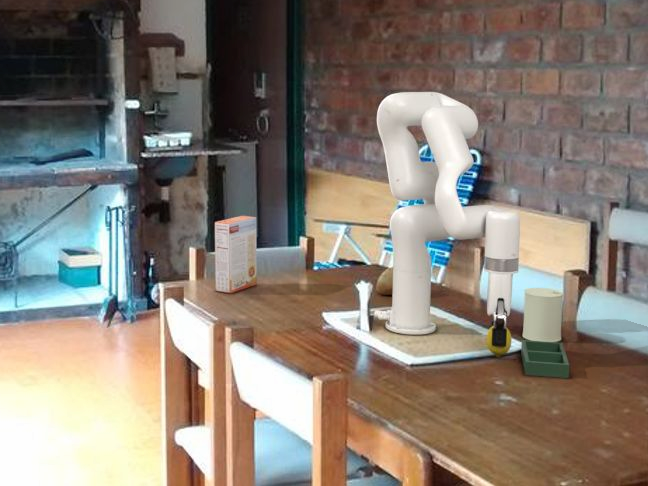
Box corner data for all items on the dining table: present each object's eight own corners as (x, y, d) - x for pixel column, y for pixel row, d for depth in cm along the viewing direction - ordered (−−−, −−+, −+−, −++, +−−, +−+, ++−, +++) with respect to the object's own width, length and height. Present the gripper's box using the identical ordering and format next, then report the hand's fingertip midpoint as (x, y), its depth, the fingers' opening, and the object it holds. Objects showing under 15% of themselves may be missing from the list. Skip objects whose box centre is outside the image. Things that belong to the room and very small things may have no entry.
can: (563, 343, 245) (565, 295, 243) (523, 341, 247) (525, 293, 245) (559, 333, 254) (561, 286, 252) (520, 331, 256) (522, 284, 254)
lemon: (511, 355, 234) (512, 321, 233) (509, 361, 229) (511, 327, 228) (486, 352, 236) (488, 319, 235) (484, 359, 231) (485, 325, 230)
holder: (525, 375, 221) (525, 361, 221) (521, 352, 238) (521, 339, 237) (568, 378, 219) (569, 364, 218) (561, 355, 236) (562, 342, 235)
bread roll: (431, 294, 294) (432, 267, 293) (387, 299, 288) (388, 271, 287) (413, 287, 303) (413, 261, 302) (369, 292, 297) (370, 265, 296)
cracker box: (241, 282, 308) (241, 214, 306) (257, 285, 305) (258, 216, 302) (213, 291, 297) (213, 220, 294) (230, 294, 293) (230, 222, 291)
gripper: (483, 256, 239) (481, 331, 241) (484, 271, 223) (482, 351, 225) (516, 258, 237) (514, 333, 239) (520, 273, 221) (517, 354, 223)
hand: (498, 341), depth 232 cm, fingers closed on lemon, 5 cm apart
